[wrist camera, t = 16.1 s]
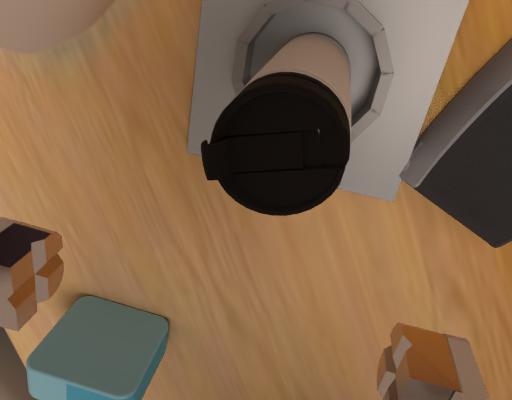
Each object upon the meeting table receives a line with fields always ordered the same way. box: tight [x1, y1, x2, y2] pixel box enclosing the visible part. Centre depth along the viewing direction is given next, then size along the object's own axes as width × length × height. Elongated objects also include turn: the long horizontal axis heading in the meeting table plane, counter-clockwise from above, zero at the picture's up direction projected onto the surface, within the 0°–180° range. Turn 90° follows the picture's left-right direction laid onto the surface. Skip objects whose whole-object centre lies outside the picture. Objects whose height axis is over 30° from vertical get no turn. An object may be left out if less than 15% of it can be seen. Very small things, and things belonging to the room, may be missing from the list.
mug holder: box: [187, 0, 469, 202], centre depth 35 cm, size 20×20×4 cm
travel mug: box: [201, 32, 352, 216], centre depth 27 cm, size 6×7×20 cm
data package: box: [26, 296, 169, 400], centre depth 50 cm, size 12×4×12 cm, turn 79°
